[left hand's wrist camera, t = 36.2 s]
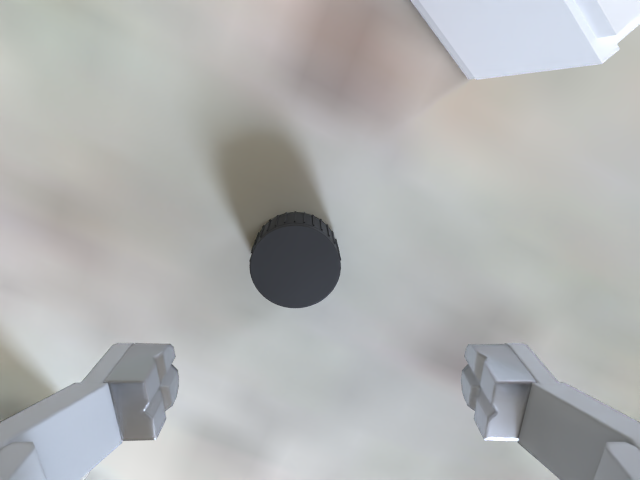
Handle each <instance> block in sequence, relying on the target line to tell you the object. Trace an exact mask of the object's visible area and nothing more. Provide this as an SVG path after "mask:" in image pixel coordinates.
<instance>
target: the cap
mask: <svg viewBox="0 0 640 480" xmlns="http://www.w3.org/2000/svg"><path fill="white" fill-rule="evenodd" d="M251 253H252V255H251V258H250V274H251V278H252V280H253V283H254V285H255V287H256V288H257V289H258V291H259V292H260V293H261V294H262V295H263V296H264V297H265V298H266V299H268V300H269V301H271V302H273V303H275V304H277V305H280V306H283V307H288V308H303V307H308V306H311V305H314V304H316V303H318V302H320V301H321V300H323V299H324V298H326V297H327V296H328V295H329V294H330V293H331V292H332V290H333V289H334V287H335V286H336V284H337V282H338V279H339V276H340V270H341V263H340V260H341V257H340V253H339V248H338V244H337V240H336V239H335V238H334V233H333V231H332V232H331V230H330V229H329V227H328V225H326V224H325V223H324V222H322V220H321V219H318V218H316V217H314V215H309V214H306V213H305V212H304V213H298V212H292V213H287V212H286V213H285V214H283V215H280V216H279V215H277V217H275V218H274V219H272V220H271V219H270V220H269V222H268V223H267V224H266V225H265V226H263V227H262V230H261V231H260V232H258V235H257V238H256V240H255V242H254V245H253V248H252V251H251Z"/></svg>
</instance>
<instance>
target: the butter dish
mask: <svg viewBox="0 0 640 480" xmlns="http://www.w3.org/2000/svg"><path fill="white" fill-rule="evenodd" d="M411 2H412V3H413V4H414V6H415V7H416V9H417V10H418V11H419V13H420V14H421V15H422V17H423V18H424V20H425V21H426V22H427V24H428V25H429V26H430V28H431V29H432V30H433V32H434V33H435V35H436V36H437V37H438V39H439V40H440V41H441V43H442V44H443V45H444V47H445V48H446V50H447V51H448V52H449V54H450V55H451V56H452V58H453V59H454V61H455V62H456V63H457V65H458V66H459V67H460V69H461V70H462V71H463V73H464V74H465V76H466V77H467V78H468V79H474V78H475V79H476V80H478V79H486V78H493V77H501V76H509V75H517V74H525V73H533V72H541V71H549V70H557V69H565V68H573V67H581V66H589V65H597V64H602V63H604V62H605V61H606V60H607V59H608V58H610V57H611V56H612V55H613V54H614V53H615V52H617V51H618V50H619V47H618V45H617V43H618V42H619V41H620V40H622V39H623V38H624V37H625V36H626V35H627V34H629V33H630V32H631V31H632V30H633V29H634V28H636V27H637V26H638V25H639V24H640V0H411Z"/></svg>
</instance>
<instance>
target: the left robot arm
mask: <svg viewBox="0 0 640 480" xmlns="http://www.w3.org/2000/svg"><path fill="white" fill-rule="evenodd" d="M175 357H176V356H175V351H174V347H173V346H172V345H171V344H153V343H135V344H134V343H117V344H114V345H112V346H111V347H110V349H109V350H108V351H107V352H106V353H105V355H104V356H103V357H102V358H101V359H100V361H99V362H98V363H97V364H96V365H95V366H94V368H93V369H92V370H91V371H90V372H89V374H88V375H87V376H86V377H85V378H84V380H83V381H82V382H81V383H74V384H72V385H70V386H68V387H66V388H64V389H62V390H60V391H58V392H57V393H55V394H53V395H51V396H49V397H47V398H45V399H43V400H41V401H40V402H38V403H36V404H34V405H32V406H30V407H28V408H26V409H24V410H23V411H21V412H19V413H17V414H15V415H13V416H11V417H9V418H7V419H5V420H4V421H2V422H0V480H80V479H81V478H82V477H83V476H84V475H86V474H87V473H88V472H89V471H90V470H91V469H93V468H94V467H95V466H96V465H97V464H98V463H99V462H101V461H102V460H103V459H104V458H105V457H106V456H108V455H109V454H110V453H111V452H112V451H113V450H114V449H116V448H117V447H118V446H119V445H120V444H121V443H122V441H135V440H156V439H157V437H158V435H159V433H160V431H161V429H162V427H163V425H164V422H165V420H166V415H165V411H166V410H167V409H169V408H170V407H171V406H173V404H174V401H175V399H176V397H177V392H178V387H179V375H178V370H177V369H176V368H175V367H174V366H173V365H172V362H173V361H174V359H175ZM464 357H465V359H466V361H467V362H468V365H467V366H466V367H465V368H464V369H463V370H462V376H461V386H462V393H463V396H464V399H465V401H466V404H467V406H469V407H470V408H471V409H473V410H474V411H475V415H474V420H475V422H476V425H477V427H478V429H479V431H480V433H481V435H482V437H483V439H484V440H505V441H518V443H519V444H520V445H521V446H522V447H523V448H525V449H526V450H527V451H528V452H529V453H530V454H531V455H533V456H534V457H535V458H536V459H537V460H538V461H540V462H541V463H542V464H543V465H544V466H545V467H546V468H548V469H549V470H550V471H551V472H552V473H553V474H554V475H556V476H557V477H558V478H559V479H560V480H640V422H638V421H636V420H634V419H632V418H631V417H629V416H627V415H625V414H623V413H621V412H619V411H617V410H615V409H614V408H612V407H610V406H608V405H606V404H604V403H602V402H600V401H598V400H597V399H595V398H593V397H591V396H589V395H587V394H585V393H583V392H581V391H580V390H578V389H576V388H574V387H572V386H570V385H568V384H566V383H559V382H558V381H557V380H556V378H555V377H554V376H553V375H552V374H551V372H550V371H549V370H548V369H547V368H546V367H545V365H544V364H543V363H542V362H541V361H540V359H539V358H538V357H537V356H536V355H535V353H534V352H533V351H532V350H531V349H530V348H529V346H528V345H526V344H524V343H505V344H468V346H467V348H466V351H465V356H464Z"/></svg>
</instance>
